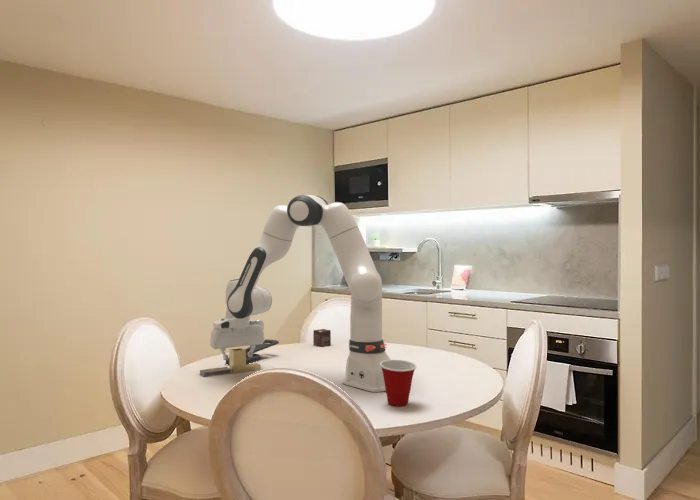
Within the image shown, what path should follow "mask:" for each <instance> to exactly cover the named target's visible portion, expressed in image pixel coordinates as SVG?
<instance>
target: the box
mask: <svg viewBox="0 0 700 500" xmlns="http://www.w3.org/2000/svg"><path fill="white" fill-rule="evenodd" d="M312 334H313V335H312V336H313V339H312V340H313V344H312V345H313V346H314V347H318V348H322V347H328V346H331V345H332V344H331V338H332V337H331V334H332V333H331V329H327V328H326V329H325V328H320V329H313V333H312Z"/></svg>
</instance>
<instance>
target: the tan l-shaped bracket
mask: <svg viewBox="0 0 700 500" xmlns="http://www.w3.org/2000/svg"><path fill="white" fill-rule="evenodd" d="M245 349H246V348H242V347H237V348H231V349H230V348H228V350H229V351H228V352H229V354H228V358H229V365H228V366H229V367H228V368H229V369H231V373H233V374H236V373H245V372H250V371H257V370H256V369H258V370H261V367H262V366H261V364H259V363H257V362H254V363H251V364H247V365H246V350H245Z"/></svg>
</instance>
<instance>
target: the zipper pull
mask: <svg viewBox="0 0 700 500" xmlns="http://www.w3.org/2000/svg"><path fill="white" fill-rule="evenodd" d="M279 341H280V340H276V339H264V343H263V344H258V345H255V349H254V351H253V357H248V356H247V355H248V354H247V352H249V351H250V349H251V347H250V346H249V347H247V348H244V349H245V350H246V365H247V364H249V363H251V364H254V363H257V362H260V361H261V355H260V354H259V353H257V352H260V351H263V350H265V349H268V348H271V347H273V346H276V345H279V344H280V342H279ZM259 360H260V361H259ZM256 361H257V362H256ZM253 362H254V363H253ZM226 364H228V365H227V366H229V357H228V360H225V365H226Z"/></svg>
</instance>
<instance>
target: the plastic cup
mask: <svg viewBox="0 0 700 500" xmlns="http://www.w3.org/2000/svg"><path fill="white" fill-rule="evenodd" d="M380 365H381V367H382V371H383V376H384V383H385V389H386V391H385V393H386V399H387V404H388V406H389V405H390V406H393V407H405V406H407V405H408V403H409V398H410V394H411V388H412V383H413V376H414V373H415V370H416V369H417V367H418V366H417V364H415V363H414V362H412V361H407V360H403V359H402V360H401V359H391V360H386V361H382V362H381V363H380Z"/></svg>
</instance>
